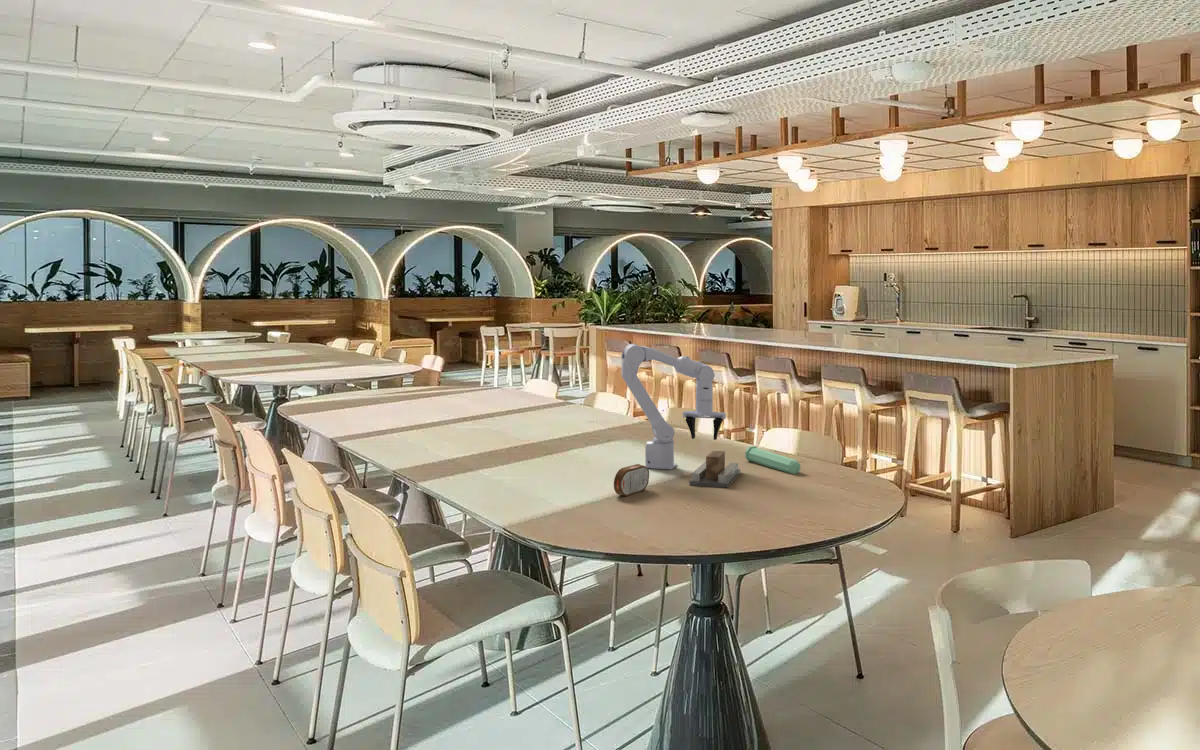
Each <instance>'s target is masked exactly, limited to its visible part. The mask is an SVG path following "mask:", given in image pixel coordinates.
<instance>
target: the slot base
mask: <svg viewBox="0 0 1200 750" xmlns="http://www.w3.org/2000/svg"><path fill="white" fill-rule="evenodd" d="M739 473H740V474H741V469H740V468H739V462H734V461H733V462H731V461H730V462H729V463H728V465H727V466H725V469H724V470H723V471H722V472H721V473H720V474H719V475H718V479H711V478H706V460H705V461H704V462H703V463H701V465H699V466H698V467H697V468H696V469H695V470H694V471H693V472H692V473H691V479H690V480H689V482H688V484H689V486H693V485H694V487H695V486H696V487H697V486H698V487H710V488H711V486H712V487H713V488H724V487H727V488H728V487H730V486H731V485H732V483H733V482H734V481H735V480H736V478H737V477H738V476H739V475H740V474H739ZM734 479H735V480H734ZM733 480H734V481H733ZM732 481H733V482H732ZM731 482H732V483H731Z"/></svg>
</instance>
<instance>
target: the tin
mask: <svg viewBox="0 0 1200 750" xmlns="http://www.w3.org/2000/svg"><path fill="white" fill-rule="evenodd" d="M649 480H650V470H649V468H647V467H646V465H641V464H640V463H636V464H633V465H628V466H624V467H622V468H620V469H619V470H618V471H616V473H615V475H614V479H613V490H614V492H615V493H616V494H617V495H618V496H623V497H625V496H626V497H629V496H631V495H635V494H638V493H640V492H643V491H645V490H646V488H647V486H648V484H649Z"/></svg>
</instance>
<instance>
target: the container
mask: <svg viewBox="0 0 1200 750" xmlns="http://www.w3.org/2000/svg"><path fill="white" fill-rule="evenodd" d="M744 458H745V459H746V460H747V461H748V462H750V463H751V462H752V463H755V464H758V465H761V466H765V467H767V468H771V469H774V470H778V471H780V472H784V473H787V474H792V475H796V474H798V473H799V472H800V471H801V464H800V462H799V461H798V460H797V459H794V458H790V457H789V456H788V457H787V456H784V455H780V454H778V453H774V452H770V451H768V450H765V449H761V448H758V447H757V446H755V445H752V446H751V445H750V446H748V447H747V449H746V450H745V456H744Z"/></svg>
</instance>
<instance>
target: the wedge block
mask: <svg viewBox="0 0 1200 750" xmlns="http://www.w3.org/2000/svg"><path fill="white" fill-rule="evenodd" d="M725 456H726V451H724V450H712V451H711V452H709V453H708V454H707V455H706V457H705V461H706V478H711V479H718V475H719V474H720V473H721V472H722V471H723V470H724V469H725V468H726V462H725V461H726V457H725Z"/></svg>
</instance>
